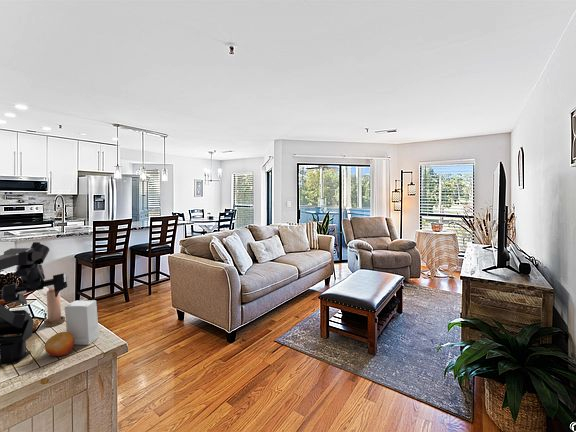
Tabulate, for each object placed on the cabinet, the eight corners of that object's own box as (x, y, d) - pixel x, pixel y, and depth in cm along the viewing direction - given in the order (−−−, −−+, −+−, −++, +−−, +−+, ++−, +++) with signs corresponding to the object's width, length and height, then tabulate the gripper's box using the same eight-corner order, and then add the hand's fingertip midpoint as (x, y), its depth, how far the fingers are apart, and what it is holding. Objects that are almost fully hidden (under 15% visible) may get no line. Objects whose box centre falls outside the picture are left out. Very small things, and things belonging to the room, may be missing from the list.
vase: (57, 323, 121) (55, 290, 120) (45, 323, 120) (44, 290, 119) (63, 318, 125) (62, 286, 124) (52, 319, 125) (51, 287, 123)
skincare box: (99, 337, 112) (98, 299, 111) (88, 346, 106) (87, 306, 105) (77, 337, 112) (76, 299, 111) (65, 345, 106) (64, 305, 105)
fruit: (84, 341, 106) (74, 328, 101) (69, 363, 99) (57, 350, 95) (64, 340, 107) (53, 327, 102) (47, 361, 100) (35, 348, 96)
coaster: (58, 326, 120) (58, 322, 120) (39, 326, 119) (39, 323, 119) (68, 318, 127) (68, 315, 127) (50, 319, 126) (50, 316, 126)
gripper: (61, 253, 116) (69, 277, 126) (-3, 264, 106) (11, 290, 115) (63, 273, 110) (71, 298, 119) (-5, 288, 99) (9, 314, 109)
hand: (41, 299), depth 116 cm, fingers open, 9 cm apart
